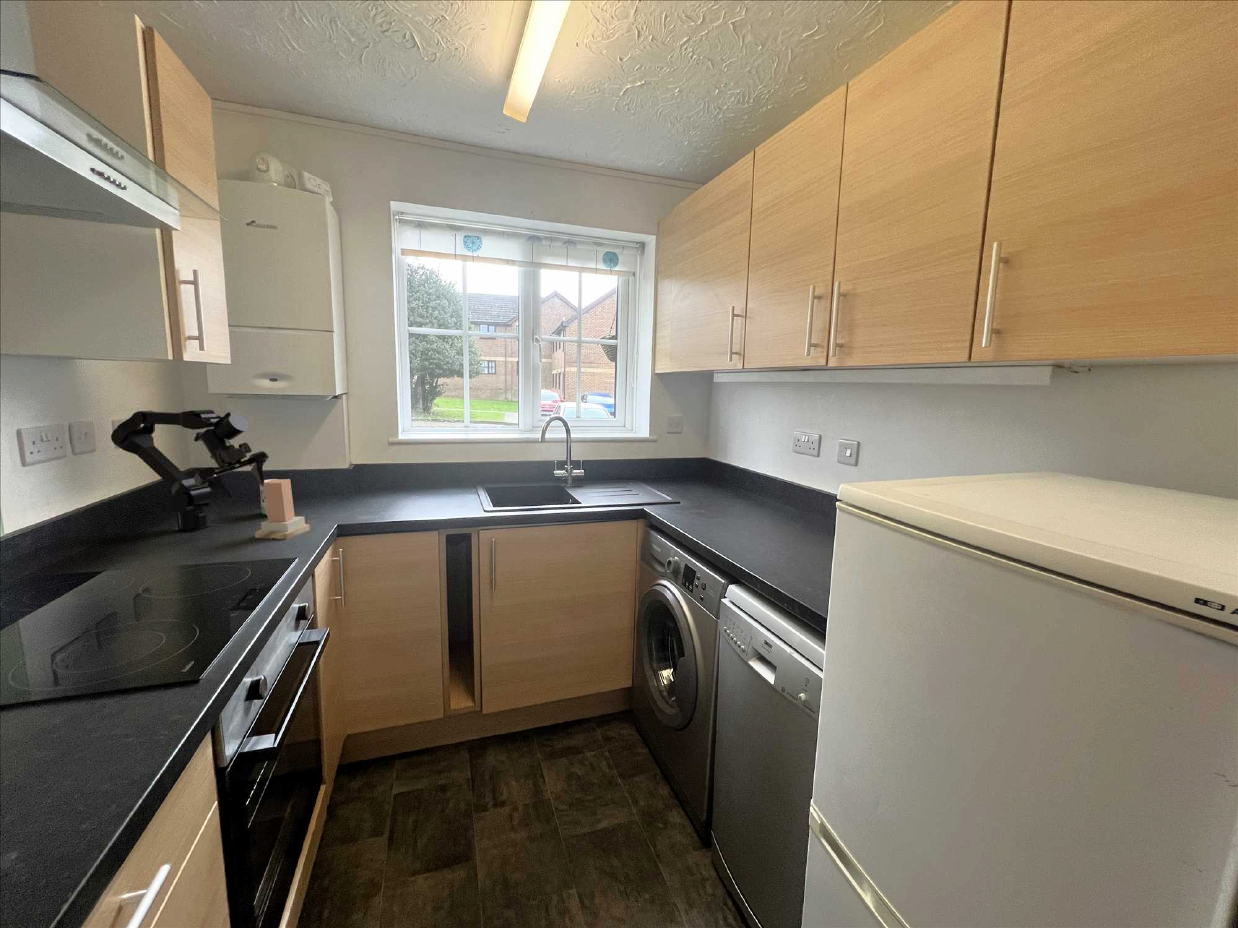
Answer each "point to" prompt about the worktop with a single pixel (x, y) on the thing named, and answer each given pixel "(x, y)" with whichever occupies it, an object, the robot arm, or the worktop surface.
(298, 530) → the base slab
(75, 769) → the worktop surface
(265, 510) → the ink box
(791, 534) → the worktop surface
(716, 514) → the worktop surface
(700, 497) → the worktop surface
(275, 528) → the top slab
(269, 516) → the pillar block
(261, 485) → the robot arm
